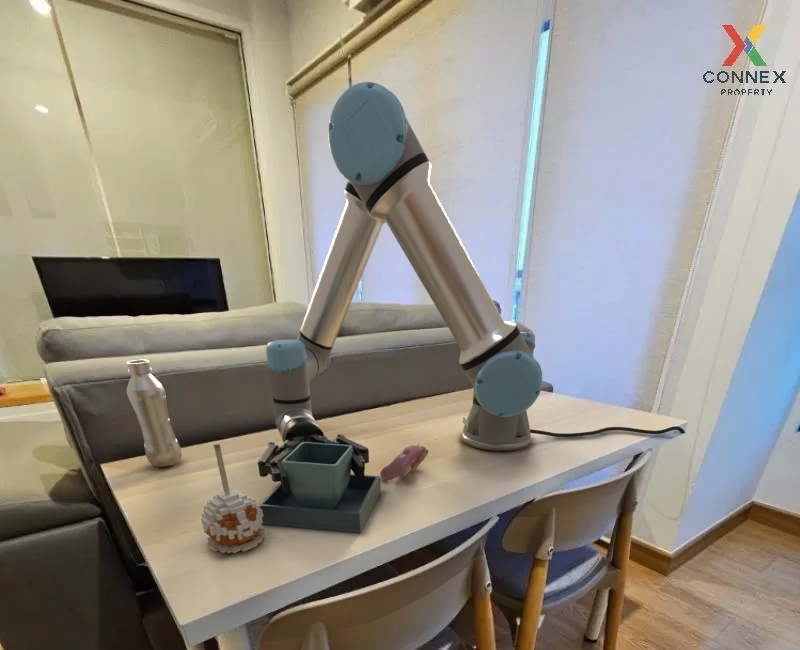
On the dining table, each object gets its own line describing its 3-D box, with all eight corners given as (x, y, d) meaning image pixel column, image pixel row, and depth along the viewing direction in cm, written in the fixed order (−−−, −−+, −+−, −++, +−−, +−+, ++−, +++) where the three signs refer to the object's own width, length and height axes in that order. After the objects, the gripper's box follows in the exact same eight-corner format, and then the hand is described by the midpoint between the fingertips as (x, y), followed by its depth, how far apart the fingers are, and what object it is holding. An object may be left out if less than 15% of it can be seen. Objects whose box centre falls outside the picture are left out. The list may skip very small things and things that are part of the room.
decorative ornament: (225, 562, 63) (200, 459, 56) (200, 541, 68) (174, 444, 60) (274, 541, 68) (258, 444, 60) (248, 523, 73) (230, 430, 65)
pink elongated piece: (395, 491, 86) (409, 463, 81) (376, 477, 87) (390, 448, 82) (421, 473, 93) (436, 447, 88) (404, 460, 94) (418, 433, 89)
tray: (380, 493, 82) (380, 476, 80) (360, 533, 70) (359, 513, 68) (294, 486, 84) (292, 469, 83) (260, 524, 72) (257, 505, 71)
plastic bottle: (191, 460, 96) (165, 359, 86) (167, 472, 91) (137, 366, 80) (166, 456, 98) (138, 357, 88) (141, 468, 92) (108, 364, 82)
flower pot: (340, 518, 72) (336, 464, 68) (288, 513, 74) (280, 460, 69) (356, 494, 80) (353, 444, 75) (308, 490, 81) (302, 441, 77)
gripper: (362, 447, 94) (397, 490, 76) (241, 462, 87) (249, 513, 69) (360, 410, 90) (397, 447, 72) (234, 423, 83) (240, 467, 65)
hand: (324, 479), depth 71 cm, fingers closed on flower pot, 11 cm apart
